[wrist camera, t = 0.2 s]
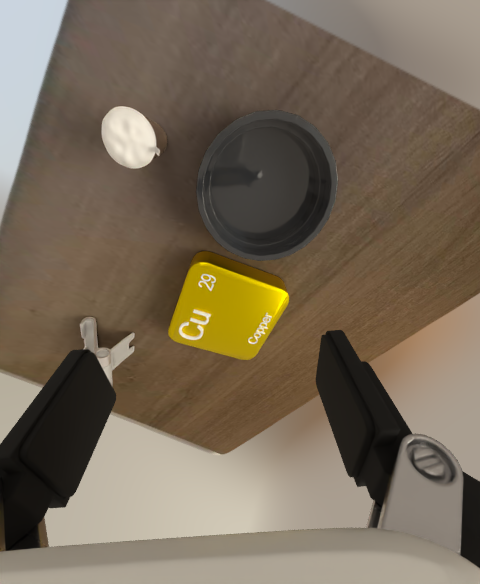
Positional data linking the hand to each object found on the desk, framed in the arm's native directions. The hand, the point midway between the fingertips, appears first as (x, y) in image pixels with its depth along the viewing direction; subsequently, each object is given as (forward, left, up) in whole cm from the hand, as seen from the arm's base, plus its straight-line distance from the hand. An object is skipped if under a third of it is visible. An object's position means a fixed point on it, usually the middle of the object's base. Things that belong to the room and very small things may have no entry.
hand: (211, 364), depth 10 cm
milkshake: (-8, -7, -26) cm, 29 cm away
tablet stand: (+21, -22, -26) cm, 40 cm away
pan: (-2, +5, -26) cm, 27 cm away
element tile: (+15, -1, -26) cm, 30 cm away
